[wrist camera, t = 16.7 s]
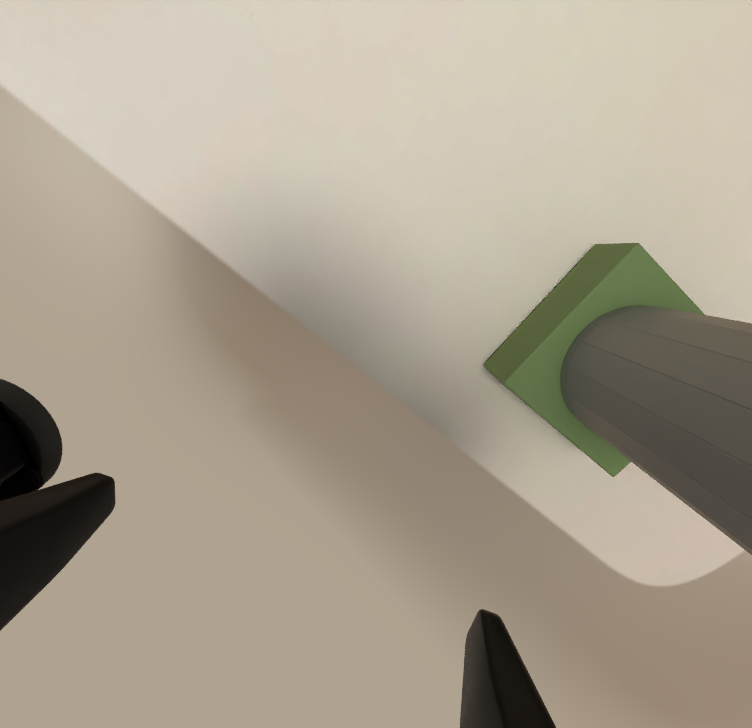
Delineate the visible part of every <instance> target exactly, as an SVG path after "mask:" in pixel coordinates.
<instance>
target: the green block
mask: <svg viewBox="0 0 752 728" xmlns="http://www.w3.org/2000/svg"><path fill="white" fill-rule="evenodd" d="M635 305H637V306H651V307H653V306H657V307H663V308H669V309H674V310H680V311H685V312H691V313H696V314H702V315H705V314H704V313H703V312H702V311H701V310H700V309H699V308H698V307H697V306H696V305H695V304H694V303H693V301H692V300H691V299H690V298H689V297H688V296H687V295H686V294H685V293H684V292H683V291H682V290H681V289H680V287H679V286H678V285H677V284H676V283H675V282H674V281H673V280H672V279H671V278H670V277H669V276H668V274H667V273H666V272H665V271H664V270H663V269H662V268H661V267H660V266H659V265H658V264H657V263H656V261H655V260H654V259H653V258H652V257H651V256H650V255H649V254H648V253H647V252H646V251H645V250H644V248H643V247H642V246H641V245H640V244H639V243H622V244H596V245H595V246H594V247H593V248H592V249H591V250H590V251H589V252H588V253H587V254H586V255H585V256H584V257H583V258H582V259H581V261H580V262H579V263H578V264H577V265H576V266H575V267H574V268H573V269H572V270H571V271H570V272H569V273H568V274H567V276H566V277H565V278H564V279H563V280H562V281H561V282H560V283H559V284H558V285H557V286H556V287H555V288H554V289H553V291H552V292H551V293H550V294H549V295H548V296H547V297H546V298H545V299H544V300H543V301H542V302H541V303H540V304H539V306H538V307H537V308H536V309H535V310H534V311H533V312H532V313H531V314H530V315H529V316H528V317H527V318H526V319H525V321H524V322H523V323H522V324H521V325H520V326H519V327H518V328H517V329H516V330H515V331H514V332H513V333H512V334H511V336H510V337H509V338H508V339H507V340H506V341H505V342H504V343H503V344H502V345H501V346H500V347H499V348H498V349H497V351H496V352H495V353H494V354H493V355H492V356H491V357H490V358H489V359H488V360H487V361H486V362H485V363H484V367H485V368H486V369H487V370H489V371H490V372H491V373H492V374H493V375H494V376H495V377H496V378H497V379H498V380H499V381H500V382H502V383H503V384H504V385H505V386H506V387H507V388H508V389H510V390H511V391H512V392H513V393H514V394H515V395H517V396H518V397H519V398H520V399H521V400H523V401H524V402H525V403H526V404H527V405H528V406H530V407H531V408H532V409H533V410H534V411H536V412H537V413H538V414H539V415H540V416H541V417H543V418H544V419H545V420H546V421H547V422H549V423H550V424H551V425H552V426H553V427H554V428H556V429H557V430H558V431H559V432H560V433H561V434H563V435H564V436H565V437H566V438H567V439H569V440H570V441H571V442H572V443H573V444H574V445H576V446H577V447H578V448H579V449H580V450H582V451H583V452H584V453H585V454H586V455H587V456H589V457H590V458H591V459H592V460H593V461H594V462H596V463H597V464H598V465H599V466H600V467H602V468H603V469H604V470H605V471H606V472H607V473H609V474H610V475H611V476H613V477H614V476H615V475H617V474H618V473H619V472H620V471H621V470H622V469H623V468H624V467H625V466H627V465H628V464H629V463H630V462H631V461H630V460H629V459H627V458H626V457H625V456H623V455H622V454H621V453H620V452H618V451H617V450H616V449H614V448H613V447H612V446H611V445H609V444H608V443H607V442H605V441H604V440H603V439H602V438H600V437H599V436H598V435H596V434H595V433H594V432H593V431H591V430H590V429H589V428H588V427H587V426H585V425H584V424H583V423H582V422H581V421H580V420H579V419H577V418H576V417H575V416H574V415H573V414H572V413H571V412H570V410H569V408H568V407H567V405H566V403H565V401H564V398H563V395H562V391H561V371H562V366H563V362H564V359H565V357H566V354H567V352H568V350H569V348H570V347H571V345H572V343H573V342H574V340H575V339H576V338H577V336H578V335H579V334H580V333H581V332H582V331H583V330H584V329H585V328H586V327H587V326H588V325H589V324H590V323H592V322H593V321H595V320H596V319H597V318H599V317H601V316H603V315H604V314H606V313H608V312H611V311H613V310H616V309H619V308H623V307H627V306H635Z"/></svg>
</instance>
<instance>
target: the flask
mask: <svg viewBox="0 0 752 728" xmlns="http://www.w3.org/2000/svg"><path fill="white" fill-rule="evenodd" d="M561 391H562V395H563V398H564V401H565V403H566V405H567V407H568V408H569V410H570V412H571V413H572V414H573V415H574V416H575V417H576V418H577V419H579V420H580V421H581V422H582V423H583V424H584V425H585V426H587V427H588V428H589V429H590V430H591V431H593V432H594V433H595V434H596V435H598V436H599V437H600V438H602V439H603V440H604V441H605V442H607V443H608V444H609V445H611V446H612V447H613V448H614V449H616V450H617V451H618V452H620V453H621V454H622V455H623V456H625V457H626V458H627V459H629V460H630V461H631V462H633V463H634V464H635V465H636V466H638V467H639V468H640V469H642V470H643V471H644V472H645V473H647V474H648V475H649V476H651V477H652V478H653V479H654V480H656V481H657V482H658V483H660V484H661V485H662V486H663V487H665V488H666V489H667V490H669V491H670V492H671V493H673V494H674V495H675V496H676V497H678V498H679V499H680V500H682V501H683V502H684V503H685V504H687V505H688V506H689V507H691V508H692V509H693V510H694V511H696V512H697V513H698V514H700V515H701V516H702V517H704V518H705V519H706V520H707V521H709V522H710V523H711V524H713V525H714V526H715V527H716V528H718V529H719V530H720V531H722V532H723V533H724V534H725V535H727V536H728V537H729V538H731V539H732V540H733V541H734V542H736V543H737V544H738V545H740V546H741V547H742V548H744V549H745V550H746V551H747V552H749V553H750V554H751V555H752V324H751V323H745V322H740V321H734V320H729V319H723V318H718V317H712V316H707V315H702V314H696V313H691V312H685V311H680V310H674V309H669V308H663V307H657V306H653V307H651V306H637V305H635V306H627V307H623V308H619V309H616V310H613V311H611V312H608V313H606V314H604V315H603V316H601V317H599V318H597V319H596V320H595V321H593V322H592V323H590V324H589V325H588V326H587V327H586V328H585V329H584V330H583V331H582V332H581V333H580V334H579V335H578V336H577V338H576V339H575V340H574V342H573V343H572V345H571V347H570V348H569V350H568V352H567V354H566V357H565V359H564V362H563V366H562V371H561Z"/></svg>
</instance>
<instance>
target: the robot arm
mask: <svg viewBox="0 0 752 728" xmlns="http://www.w3.org/2000/svg"><path fill="white" fill-rule="evenodd" d="M32 482H33V483H34V484H33V483H32ZM43 485H44V479H43V477H42V475H41V474H40V472H39V470H38V468H37V466H36V465H35V463H34V461H33V459H32V457H31V456H30V454H29V452H28V450H27V448H26V447H25V445H24V443H23V441H22V440H21V438H20V436H19V434H18V432H17V431H16V429H15V427H14V425H13V423H12V422H11V420H10V418H9V416H8V414H7V413H6V411H5V409H4V407H3V406H2V404H1V402H0V499H4V498H9V497H13V496H18V495H21V496H18V497H14V498H11V499H8V500H5V501H1V502H0V630H1V629H2V628H3V627H4V626H5V625H7V624H8V623H9V621H11V620H12V619H13V617H15V616H16V615H17V614H18V613H19V612H20V611H21V610H22V609H23V608H24V607H25V606H26V605H27V604H28V603H29V602H30V601H31V600H32V599H33V598H34V597H35V596H36V595H37V594H38V593H39V592H40V591H41V590H42V589H43V588H44V587H45V586H46V585H47V584H48V583H49V582H50V581H51V580H52V579H53V578H54V577H55V576H56V575H57V574H58V573H59V572H60V571H61V570H62V569H63V568H64V566H65V565H66V564H67V563H68V562H69V561H70V560H71V559H72V558H73V556H74V555H75V554H76V553H77V552H78V551H79V549H80V548H81V547H82V546H83V545H84V544H85V543H86V541H87V540H88V539H89V538H90V537H91V536H92V534H93V533H94V532H95V531H96V530H97V529H98V527H99V526H100V525H101V524H102V523H103V522H104V521H105V519H106V518H107V517H108V516H109V515H110V513H111V512H112V510H113V509H114V506H115V482H114V480H113V478H112V477H109V476H106V475H103V474H101V473H93V474H89V475H86V476H83V477H80V478H76V479H73V480H70V481H66V482H63V483H60V484H57V485H53V486H50V487H47V488H44V489H40V488H41V487H42V486H43ZM38 489H40V490H38ZM22 494H24V495H22ZM460 728H556V726H555V725H554V722H553V721H552V719H551V717H550V715H549V713H548V711H547V709H546V707H545V705H544V703H543V701H542V699H541V697H540V695H539V693H538V691H537V689H536V687H535V685H534V683H533V681H532V679H531V677H530V675H529V673H528V671H527V669H526V667H525V665H524V663H523V661H522V659H521V657H520V655H519V653H518V651H517V649H516V647H515V645H514V643H513V641H512V639H511V637H510V635H509V633H508V631H507V629H506V627H505V625H504V623H503V621H502V619H501V618H500V617H499V616H498V615H497V614H495V613H492V612H489V611H486V610H483V609H481V610H479V612H478V613H477V615H476V617H475V619H474V621H473V623H472V625H471V627H470V629H469V631H468V634H467V638H466V644H465V658H464V673H463V687H462V702H461V717H460Z"/></svg>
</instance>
